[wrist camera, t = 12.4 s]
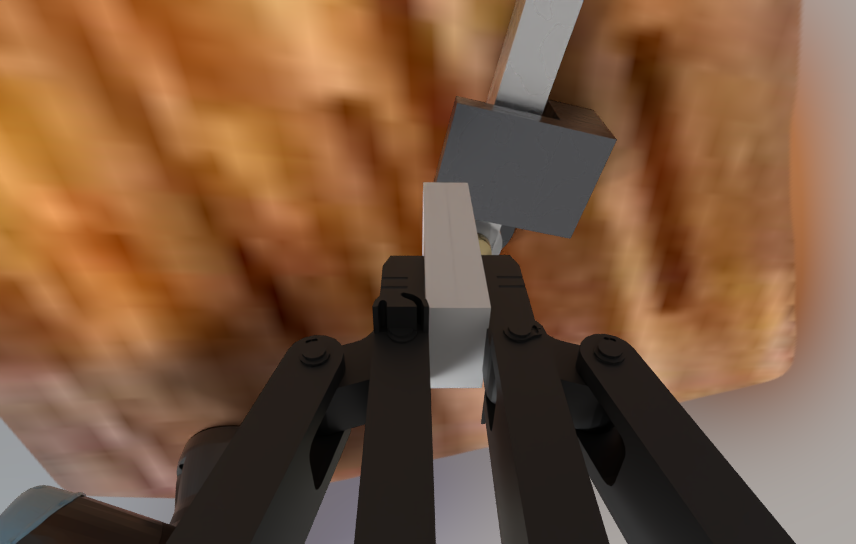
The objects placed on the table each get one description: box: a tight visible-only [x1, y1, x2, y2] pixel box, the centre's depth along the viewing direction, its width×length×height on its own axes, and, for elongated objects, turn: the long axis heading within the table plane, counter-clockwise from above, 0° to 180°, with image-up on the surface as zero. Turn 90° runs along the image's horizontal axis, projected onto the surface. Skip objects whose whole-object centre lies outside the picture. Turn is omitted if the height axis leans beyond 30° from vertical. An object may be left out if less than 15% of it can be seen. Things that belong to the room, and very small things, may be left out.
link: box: [475, 0, 583, 255], centre depth 38 cm, size 22×5×3 cm, turn 167°
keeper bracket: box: [434, 96, 617, 255], centre depth 40 cm, size 16×11×6 cm
